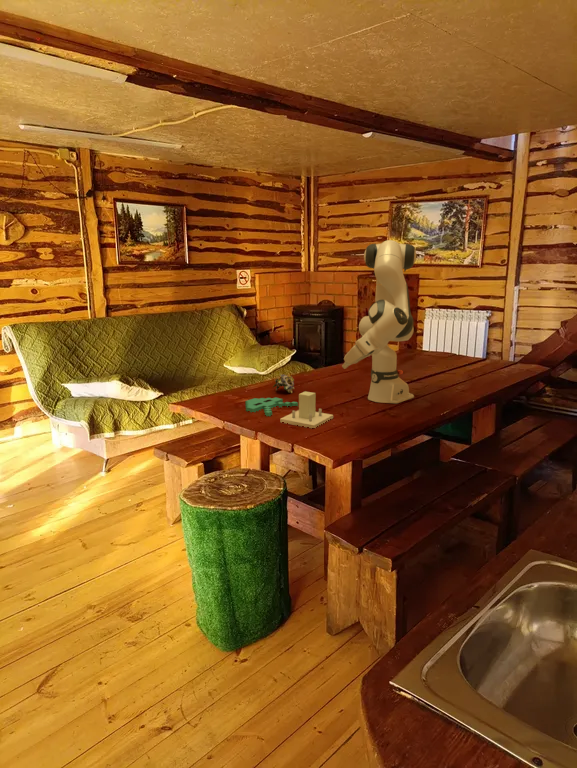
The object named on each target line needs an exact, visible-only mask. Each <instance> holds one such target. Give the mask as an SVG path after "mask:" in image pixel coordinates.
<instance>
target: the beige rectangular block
mask: <svg viewBox="0 0 577 768" xmlns="http://www.w3.org/2000/svg"><path fill="white" fill-rule="evenodd" d="M316 396H317V395H316V392H310V391H306V390H305V391H303V392H301V393H299V394H298V410H299V418H305V419H309V414H310V413H311V414H312V418H313V417H315V412H316Z"/></svg>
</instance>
